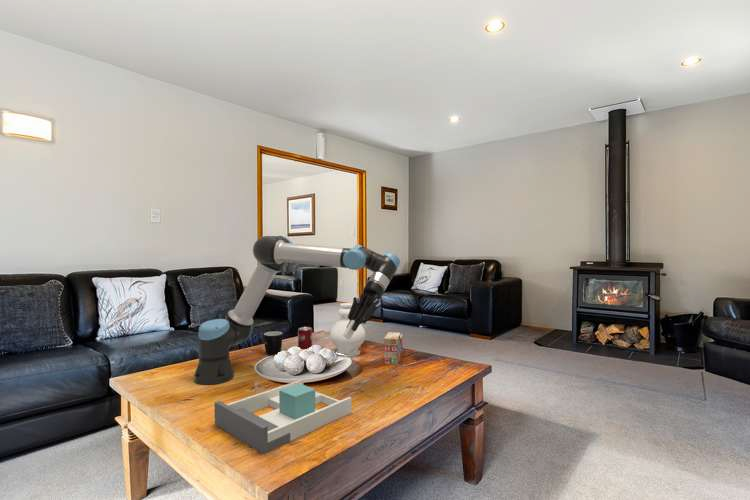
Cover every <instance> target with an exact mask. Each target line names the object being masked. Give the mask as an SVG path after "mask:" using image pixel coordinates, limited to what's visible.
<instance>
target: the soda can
mask: <svg viewBox="0 0 750 500" xmlns="http://www.w3.org/2000/svg"><path fill="white" fill-rule="evenodd" d="M311 346H312V347H313V328H312V327H310V326H302V327H299V328H298V330H297V348H298V347H300V348H301V349H307V348H309V347H311Z"/></svg>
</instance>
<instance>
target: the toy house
mask: <svg viewBox="0 0 750 500" xmlns="http://www.w3.org/2000/svg"><path fill="white" fill-rule="evenodd" d="M403 335H404V334H402V333H401V332H391V331H389V332H388V333H387V334H386V335H385V337H383V338H384V340H383V341H384V343H383V344H384V345H383V350H384V351H383V353H384V354H383V357H384V358H383V364H384V365H391V366H392V365H395V366H396V365H399V362H400V360H401V358H402V357H401V356H402V355H403V352H404V351H403V350H404V349H403V348H404V338H403V337H404V336H403Z"/></svg>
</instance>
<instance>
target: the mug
mask: <svg viewBox="0 0 750 500" xmlns="http://www.w3.org/2000/svg"><path fill="white" fill-rule="evenodd" d="M263 340H264V341H263V342H264V350H265V353H266V355H268V356H276V355H275V354H277V353H278V352H280V353H281V351H282V345H283V344H282V343H283V332H281V331H267V332H264V334H263ZM277 355H278V354H277Z"/></svg>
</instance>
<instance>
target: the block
mask: <svg viewBox="0 0 750 500" xmlns="http://www.w3.org/2000/svg"><path fill="white" fill-rule="evenodd" d="M315 391H316V388H312V387H310V386H307V385H305V384H303V385H302V384H297V385H294V386H291V387H288V388H285V389H282V390H279V412H280V413H282V414H284V415H286V416H289V417H291V418H293V419H295V420H296V419H298V418H300V417H303V416H305V415H307V414H310V413H312V412H314V411H315V409H316V404H315Z"/></svg>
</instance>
